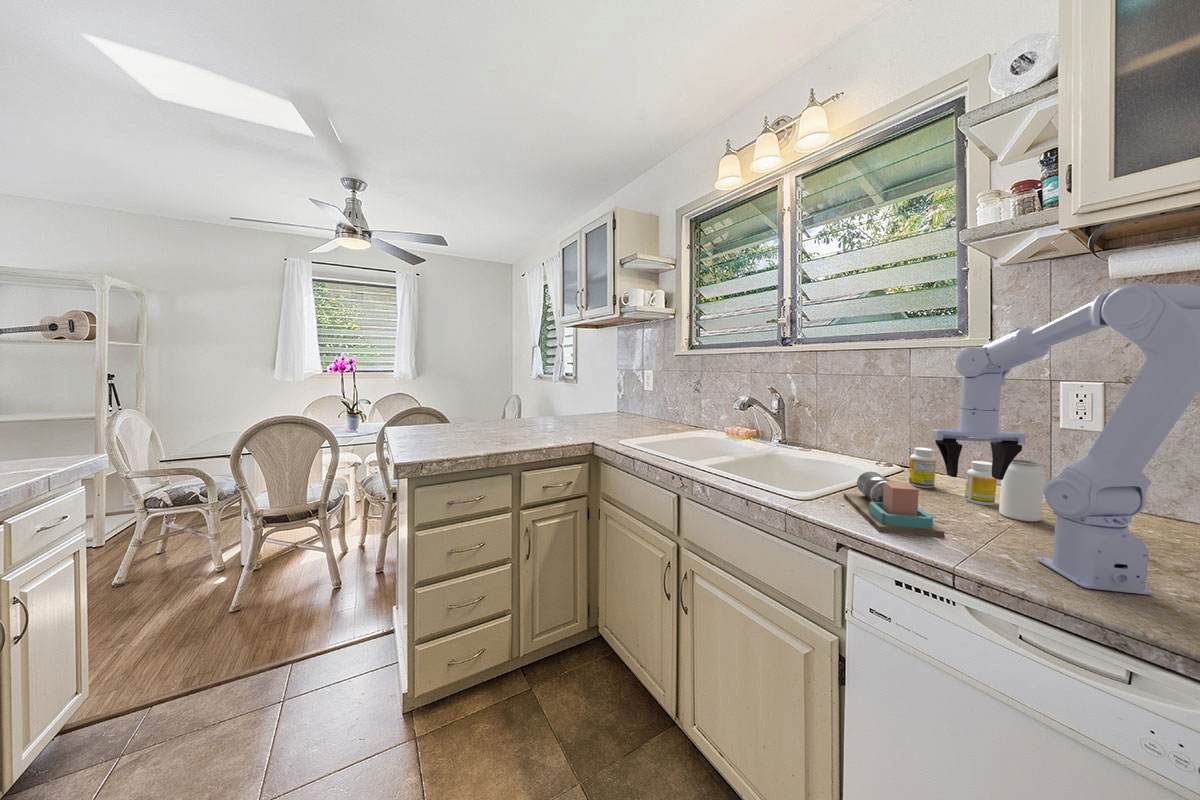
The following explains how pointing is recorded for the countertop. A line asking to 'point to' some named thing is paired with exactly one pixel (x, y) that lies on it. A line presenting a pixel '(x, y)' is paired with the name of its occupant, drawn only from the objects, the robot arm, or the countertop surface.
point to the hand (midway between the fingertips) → (974, 477)
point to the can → (1022, 491)
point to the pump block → (900, 499)
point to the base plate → (862, 506)
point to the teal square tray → (901, 517)
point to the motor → (872, 485)
